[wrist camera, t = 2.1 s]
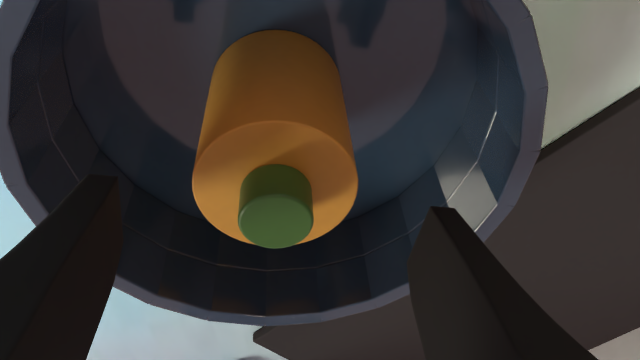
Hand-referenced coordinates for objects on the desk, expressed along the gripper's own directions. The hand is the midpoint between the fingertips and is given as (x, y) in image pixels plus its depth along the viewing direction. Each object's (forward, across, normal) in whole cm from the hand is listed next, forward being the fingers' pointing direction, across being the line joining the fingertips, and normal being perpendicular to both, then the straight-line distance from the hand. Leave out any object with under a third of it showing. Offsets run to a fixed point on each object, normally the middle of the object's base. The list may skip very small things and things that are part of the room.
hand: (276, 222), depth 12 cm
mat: (+7, -12, +10) cm, 17 cm away
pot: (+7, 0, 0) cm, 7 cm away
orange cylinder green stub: (+6, 0, 0) cm, 6 cm away
